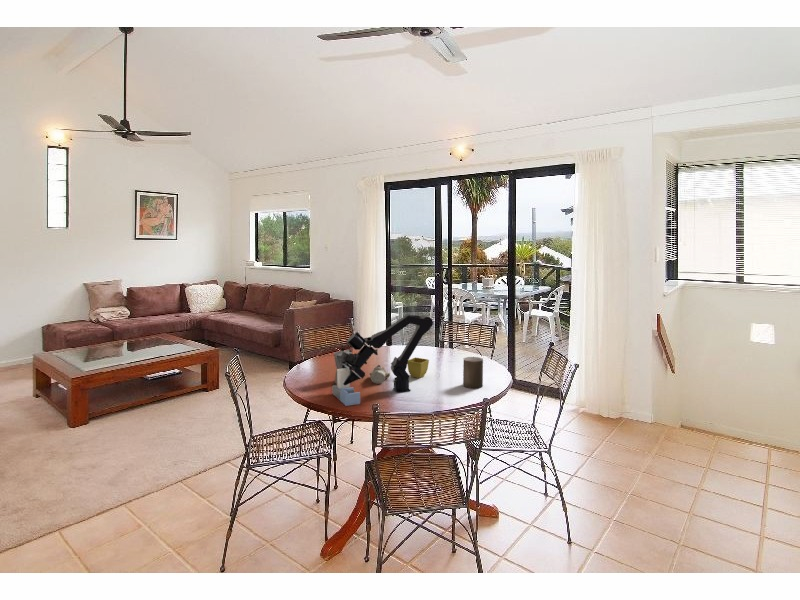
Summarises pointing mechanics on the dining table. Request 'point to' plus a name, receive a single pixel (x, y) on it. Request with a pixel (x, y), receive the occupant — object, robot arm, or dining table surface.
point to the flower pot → (417, 367)
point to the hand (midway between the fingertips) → (340, 382)
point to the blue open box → (338, 391)
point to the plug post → (342, 378)
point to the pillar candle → (473, 372)
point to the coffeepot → (339, 359)
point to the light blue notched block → (349, 397)
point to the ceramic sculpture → (379, 375)
